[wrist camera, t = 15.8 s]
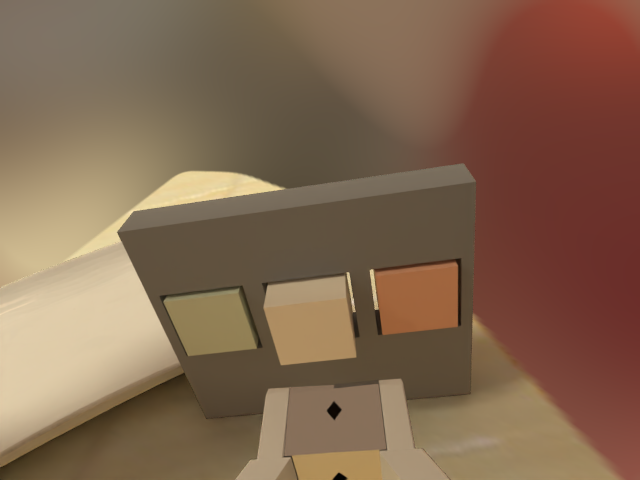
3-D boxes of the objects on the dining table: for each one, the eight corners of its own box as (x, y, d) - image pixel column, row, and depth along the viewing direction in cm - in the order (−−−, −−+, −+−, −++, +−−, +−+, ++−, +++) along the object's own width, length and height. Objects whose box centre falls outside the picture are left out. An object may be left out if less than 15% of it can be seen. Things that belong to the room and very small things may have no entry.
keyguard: (206, 418, 34) (116, 232, 25) (224, 350, 40) (157, 181, 31) (470, 393, 32) (475, 181, 23) (447, 326, 38) (445, 137, 29)
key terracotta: (382, 335, 28) (375, 276, 26) (376, 295, 32) (369, 240, 29) (457, 326, 28) (457, 266, 25) (443, 287, 31) (442, 230, 29)
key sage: (188, 356, 30) (163, 302, 27) (202, 316, 33) (181, 265, 30) (256, 348, 29) (238, 293, 27) (264, 308, 32) (248, 256, 30)
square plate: (274, 353, 39) (264, 321, 37) (-89, 550, 29) (-130, 520, 27) (191, 237, 60) (182, 213, 58) (-36, 329, 50) (-57, 303, 48)
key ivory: (280, 365, 28) (263, 307, 25) (286, 321, 31) (270, 267, 28) (356, 357, 27) (346, 298, 25) (353, 313, 30) (344, 257, 28)
